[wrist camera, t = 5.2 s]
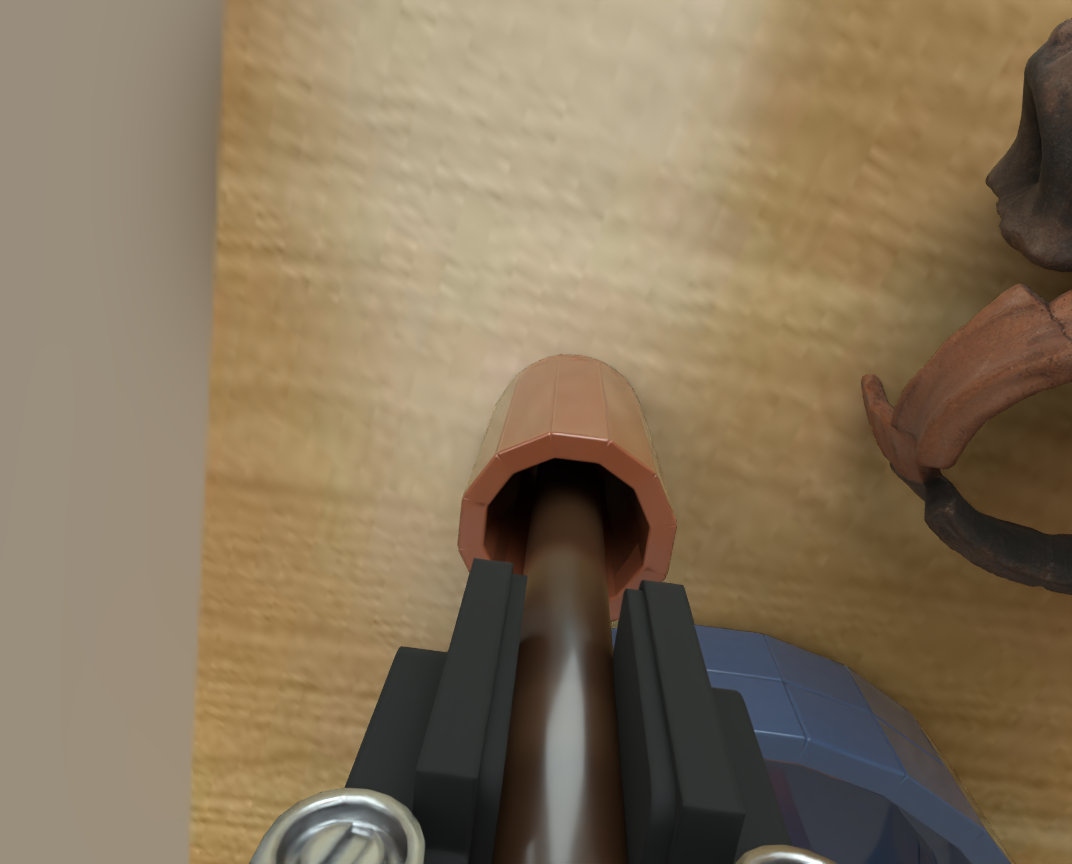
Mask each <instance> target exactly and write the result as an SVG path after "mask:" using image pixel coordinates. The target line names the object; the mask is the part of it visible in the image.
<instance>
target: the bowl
mask: <svg viewBox="0 0 1072 864" xmlns="http://www.w3.org/2000/svg"><path fill="white" fill-rule="evenodd" d="M695 629H696V632H697V636H698V640H699V643H700V647H701V651H702V654H703V658H704V662H705V665H706V669H707V673H708V677H709V680H710V684H711V687H715V688H722V689H730V690H737V691H738V692H740V693H741V695H742V697H743V699H744V701H745V704H746V707H747V710H748V713H749V716H750V719H751V722H752V725H753V728H754V731H755V734H756V738H757V741H758V744H759V747H760V750H761V753H762V756H763V759H764V762H765V765H766V768H767V771H768V774H769V777H770V780H771V783H772V786H773V789H774V792H775V795H776V798H777V801H778V804H779V807H780V810H781V814H782V817H783V820H784V823H785V826H786V829H787V832H788V835H789V838H790V841H791V844H792V846H793V847H798V848H803V849H807V850H810V851H812V852H815V853H817V854H819V855H821V856H824V857H826V858H828V859H830V860H833V861H834V862H836V863H837V864H1015V862H1014V861H1013V859H1012V858H1011V856H1010V855H1009V853H1008V851H1007V850H1006V848H1005V847H1004V845H1003V844H1002V842H1001V841H1000V839H999V838H998V836H997V835H996V833H995V832H994V830H993V829H992V827H991V825H990V824H989V822H988V821H987V819H986V818H985V816H984V815H983V813H982V812H981V810H980V808H979V807H978V805H977V804H976V802H975V801H974V799H973V798H972V796H971V795H970V793H969V792H968V790H967V789H966V787H965V785H964V784H963V782H962V781H961V779H960V778H959V776H958V775H957V773H956V772H955V770H954V769H953V768H952V766H951V765H950V764H949V762H948V761H947V760H946V758H945V757H944V756H943V754H942V753H941V752H940V750H939V749H938V748H937V746H936V745H935V744H934V742H933V741H932V740H931V738H930V737H929V736H928V734H927V733H926V732H925V731H924V729H923V728H922V727H921V725H920V724H919V723H918V721H917V720H916V719H915V717H914V716H913V715H912V714H911V713H910V712H909V711H908V710H906V709H905V708H904V707H902V706H901V705H899V704H898V703H897V702H895V701H894V700H893V699H891V698H890V697H888V696H887V695H886V694H884V693H883V692H882V691H880V690H879V689H877V688H876V687H875V686H873V685H872V684H871V683H869V682H868V681H866V680H865V679H864V678H862V677H861V676H860V675H858V674H857V673H855V672H854V671H853V670H851V669H850V668H848V667H847V666H844V665H843V664H841V663H838V662H835V661H833V660H830V659H828V658H825V657H822V656H820V655H817V654H815V653H812V652H809V651H807V650H804V649H802V648H799V647H796V646H794V645H791V644H789V643H786V642H783V641H781V640H778V639H776V638H773V637H770V636H768V635H763V634H762V633H754V632H747V631H739V630H731V629H724V628H716V627H708V626H701V625H695ZM611 631H612V643H613V651H614V645H615V639H616V633H617V628H611Z"/></svg>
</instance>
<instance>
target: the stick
mask: <svg viewBox="0 0 1072 864" xmlns="http://www.w3.org/2000/svg"><path fill="white" fill-rule="evenodd" d="M523 575H527V576H528V577H527V585H526V593H525V601H524V609H523V618H522V626H521V634H520V642H519V650H518V659H517V667H516V675H515V683H514V691H513V699H512V708H511V716H510V724H509V732H508V740H507V748H506V757H505V765H504V773H503V781H502V789H501V796H500V804H499V812H498V820H497V827H496V835H495V843H494V851H493V858H492V864H628V852H627V840H626V827H625V814H624V801H623V788H622V776H621V763H620V750H619V737H618V724H617V712H616V699H615V686H614V673H613V660H612V656H613V643H612V631H611V619H610V607H609V595H608V582H607V570H606V558H605V546H604V534H603V522H602V509H601V497H600V485H599V473H598V464H597V463H589V462H581V461H574V460H566V459H558V458H554V459H551V460H548V461H546V462H543V463H541V464H538V466H537V474H536V481H535V489H534V496H533V503H532V511H531V518H530V525H529V533H528V540H527V548H526V555H525V562H524V570H523Z"/></svg>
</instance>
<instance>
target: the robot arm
mask: <svg viewBox="0 0 1072 864" xmlns="http://www.w3.org/2000/svg"><path fill="white" fill-rule="evenodd" d="M512 573H513V563H509V562H502V561H494V560H486V559H479V558H474V560H473V563H472V566H471V570H470V574H469V577H468V581H467V585H466V588H465V592H464V596H463V599H462V603H461V607H460V610H459V614H458V618H457V621H456V625H455V628H454V632H453V636H452V639H451V643H450V647H449V650H448V652H440V651H433V650H425V649H417V648H410V647H402V646H401V647H400V648H399V649H398V651H397V653H396V655H395V658H394V661H393V663H392V666H391V668H390V671H389V674H388V676H387V679H386V681H385V684H384V687H383V689H382V692H381V694H380V697H379V700H378V702H377V705H376V707H375V710H374V713H373V715H372V718H371V720H370V723H369V726H368V728H367V731H366V733H365V736H364V739H363V741H362V744H361V746H360V749H359V752H358V754H357V757H356V759H355V762H354V765H353V767H352V770H351V772H350V775H349V778H348V780H347V783H346V785H345V788H342V789H336V790H331V791H325V792H320V793H318V794H316V795H313V796H311V797H309V798H306V799H304V800H302V801H299V802H297V803H296V804H295V805H294V806H292V807H291V808H290V809H288V810H287V811H286V812H284V813H283V814H282V815H280V816H279V817H278V818H277V820H276V821H275V822H274V823H273V825H272V826H271V827H270V829H269V830H268V831H267V833H266V834H265V835H264V837H263V839H262V841H261V842H260V844H259V846H258V848H257V850H256V852H255V853H254V855H253V857H252V859H251V861H250V863H249V864H492V858H493V851H494V843H495V835H496V827H497V820H498V812H499V804H500V796H501V789H502V781H503V773H504V765H505V757H506V748H507V740H508V732H509V724H510V716H511V708H512V699H513V691H514V683H515V675H516V667H517V659H518V650H519V642H520V634H521V626H522V618H523V609H524V601H525V593H526V585H527V577H528V576H527V575H520V574H512ZM612 660H613V673H614V686H615V699H616V712H617V724H618V737H619V750H620V763H621V776H622V788H623V801H624V814H625V827H626V840H627V852H628V864H837V863H836V862H834V861H833V860H830V859H828V858H826V857H824V856H821V855H819V854H817V853H815V852H812V851H810V850H807V849H803V848H798V847H793V846H792V844H791V841H790V838H789V835H788V832H787V829H786V826H785V823H784V820H783V817H782V814H781V810H780V807H779V804H778V801H777V798H776V795H775V792H774V789H773V786H772V783H771V780H770V777H769V774H768V771H767V768H766V765H765V762H764V759H763V756H762V753H761V750H760V747H759V744H758V741H757V738H756V734H755V731H754V728H753V725H752V722H751V719H750V716H749V713H748V710H747V707H746V704H745V701H744V699H743V697H742V695H741V693H740V692H738V691H737V690H730V689H722V688H715V687H711V684H710V680H709V677H708V673H707V669H706V665H705V662H704V658H703V654H702V651H701V647H700V643H699V640H698V636H697V632H696V629H695V625H694V621H693V618H692V614H691V610H690V607H689V603H688V599H687V596H686V592H685V588H684V586H683V585H679V584H671V583H664V582H656V581H648V580H642V581H641V582H640V586H639V589H638V590H635V589H628V588H626V589H625V591H624V594H623V599H622V605H621V610H620V616H619V622H618V628H617V633H616V639H615V645H614V651H613V656H612Z"/></svg>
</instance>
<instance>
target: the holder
mask: <svg viewBox="0 0 1072 864" xmlns="http://www.w3.org/2000/svg"><path fill="white" fill-rule="evenodd" d="M554 458H558V459H566V460H574V461H581V462H589V463H597V464H598V473H599V485H600V497H601V509H602V522H603V534H604V546H605V558H606V570H607V582H608V595H609V607H610V619H611V622H612V621H615V620H618V619H619V616H620V610H621V605H622V599H623V594H624V591H625V589H626V588H628V589H635V590H638V589H639V586H640V582H641V581H642V580H648V581H656V582H662V581H663V580H664V579H665V578H666V575H667V573H668V570H669V565H670V560H671V555H672V549H673V544H674V539H675V534H676V529H677V525H676V523H677V521H676V518H675V515H674V511H673V508H672V505H671V501H670V498H669V495H668V492H667V488H666V485H665V482H664V478H663V475H662V472H661V469H660V465H659V462H658V459H657V455H656V452H655V449H654V446H653V442H652V439H651V436H650V432H649V429H648V426H647V423H646V420H645V418H644V415H643V413H642V410H641V408H640V405H639V401H638V399H637V397H636V395H635V393H634V390H633V388H631V386H630V385H629V383H628V382H627V381H626V380H625V379H624V378H623V376H621V375H620V374H619V373H618V372H617V371H616V370H614V369H613V368H611V367H610V366H608V365H607V364H605V363H603V362H601V361H599V360H596V359H593V358H590V357H586V356H581V355H557V356H552V357H548V358H545V359H542V360H539V361H537V362H535V363H533V364H531V365H530V366H528V367H527V368H525V369H524V370H522V371H521V372H520V373H519V374H518V375H517V376H516V377H515V378H514V379H513V380H512V381H511V382H510V384H509V385H508V387H507V388H506V390H505V391H504V393H503V395H502V397H501V398H500V400H499V401H498V402H497V405H496V407H495V410H494V412H493V415H492V418H491V421H490V423H489V426H488V429H487V432H486V434H485V437H484V440H483V442H482V445H481V448H480V451H479V453H478V456H477V459H476V462H475V464H474V467H473V470H472V473H471V475H470V478H469V481H468V483H467V486H466V489H465V492H464V494H463V497H462V503H461V513H460V524H459V534H458V549H459V553H460V555H461V557H462V559H463V561H464V563H465V565H466V567H467V569H468V571H469V573H470V570H471V566H472V563H473V560H474V558H479V559H486V560H494V561H502V562H509V563H513V573H512V574H520V575H523V570H524V562H525V555H526V548H527V540H528V533H529V525H530V518H531V511H532V503H533V496H534V489H535V481H536V474H537V466H538V464H541V463H543V462H546V461H548V460H551V459H554Z"/></svg>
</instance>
